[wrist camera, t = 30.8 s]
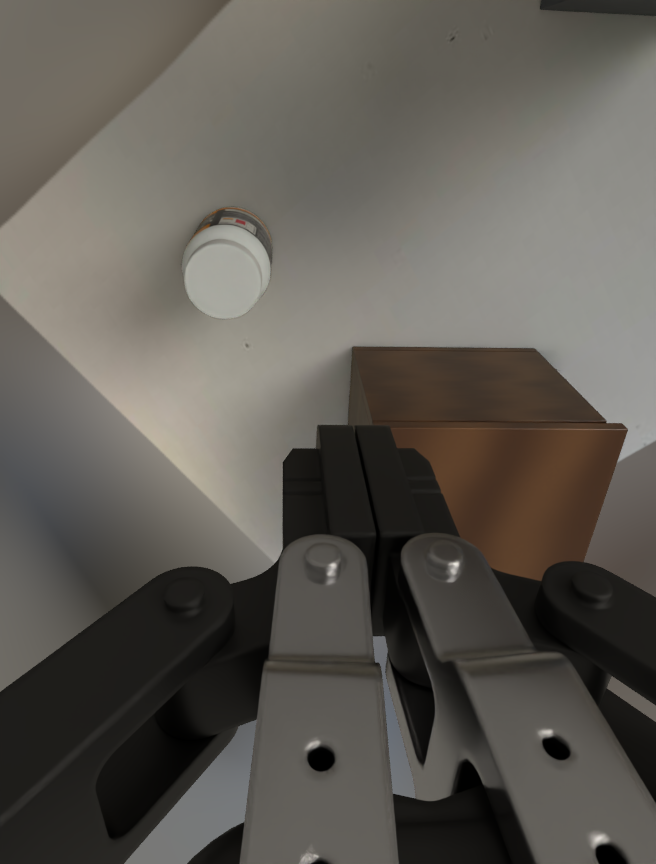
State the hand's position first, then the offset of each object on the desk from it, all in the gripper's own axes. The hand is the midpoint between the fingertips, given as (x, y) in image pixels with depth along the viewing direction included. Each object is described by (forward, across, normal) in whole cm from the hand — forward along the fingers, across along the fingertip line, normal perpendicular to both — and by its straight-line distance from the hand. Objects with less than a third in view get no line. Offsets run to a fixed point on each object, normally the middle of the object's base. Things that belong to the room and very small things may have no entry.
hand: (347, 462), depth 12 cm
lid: (+22, -13, +18) cm, 31 cm away
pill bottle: (+35, +5, +3) cm, 35 cm away
